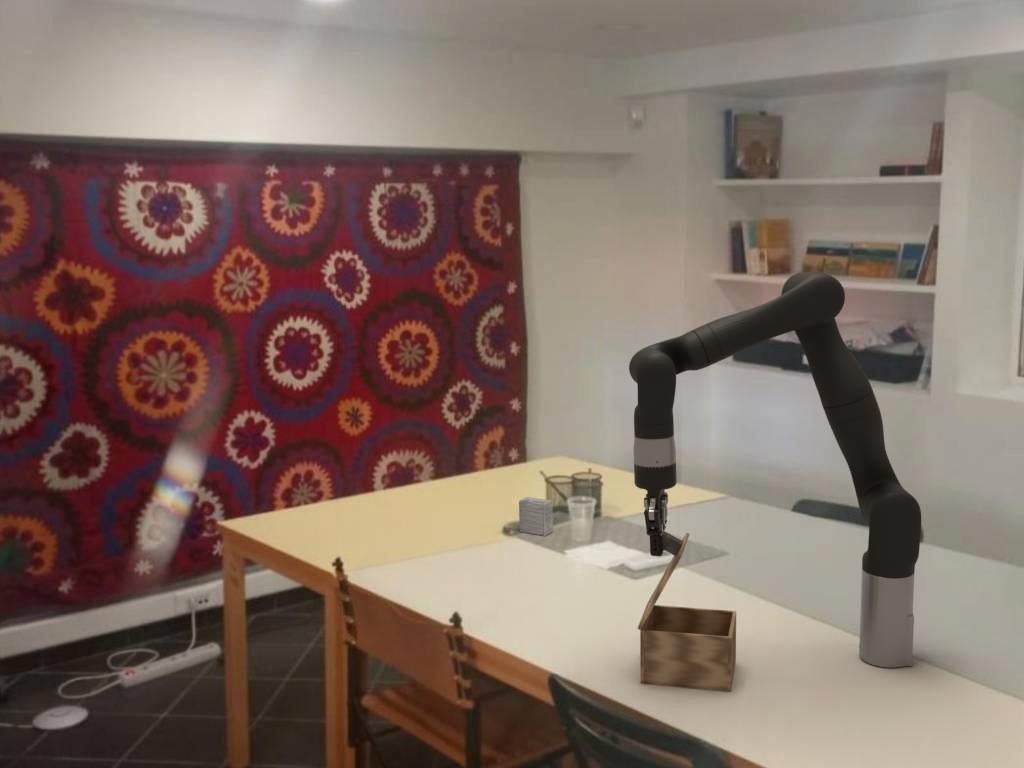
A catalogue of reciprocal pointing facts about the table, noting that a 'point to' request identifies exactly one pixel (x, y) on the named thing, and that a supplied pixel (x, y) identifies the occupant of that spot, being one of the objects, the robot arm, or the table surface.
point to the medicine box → (536, 516)
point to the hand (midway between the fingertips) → (657, 552)
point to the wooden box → (688, 648)
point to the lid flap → (676, 549)
